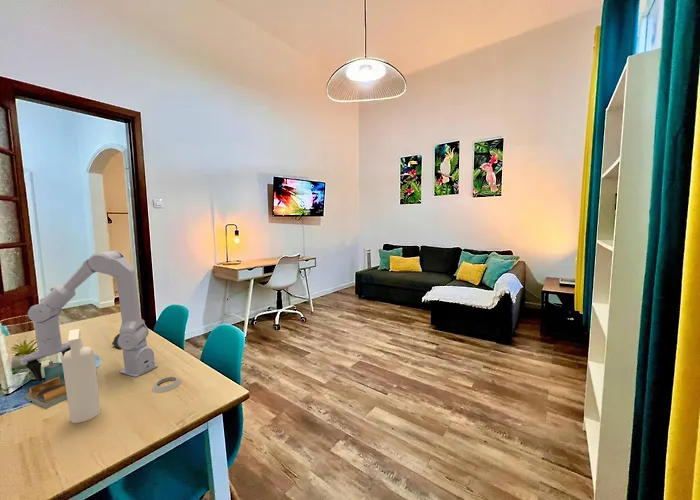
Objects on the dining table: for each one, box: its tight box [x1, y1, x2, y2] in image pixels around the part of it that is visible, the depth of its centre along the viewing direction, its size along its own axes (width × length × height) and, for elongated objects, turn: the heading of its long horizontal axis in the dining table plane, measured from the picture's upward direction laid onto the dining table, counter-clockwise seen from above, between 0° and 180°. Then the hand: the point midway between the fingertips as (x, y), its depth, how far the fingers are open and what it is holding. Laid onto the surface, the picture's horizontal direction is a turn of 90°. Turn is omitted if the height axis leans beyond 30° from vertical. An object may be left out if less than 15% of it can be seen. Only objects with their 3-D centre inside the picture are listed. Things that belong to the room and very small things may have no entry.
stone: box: [111, 332, 123, 350], centre depth 131 cm, size 7×13×5 cm, turn 29°
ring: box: [151, 376, 182, 394], centre depth 98 cm, size 8×8×2 cm
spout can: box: [43, 360, 64, 382], centre depth 103 cm, size 4×4×6 cm
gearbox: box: [24, 377, 67, 409], centre depth 94 cm, size 12×11×4 cm
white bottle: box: [61, 328, 102, 424], centre depth 83 cm, size 7×12×25 cm, turn 38°
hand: (54, 374), depth 103 cm, fingers open, 7 cm apart
